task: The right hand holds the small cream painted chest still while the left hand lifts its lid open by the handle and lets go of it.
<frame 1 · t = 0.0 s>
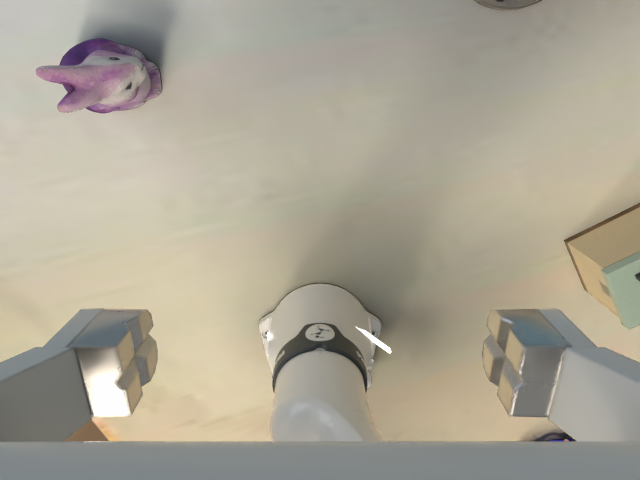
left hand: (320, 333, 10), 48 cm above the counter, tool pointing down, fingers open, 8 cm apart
figurine: (126, 74, 53), on the counter
chest: (626, 240, 61), on the counter
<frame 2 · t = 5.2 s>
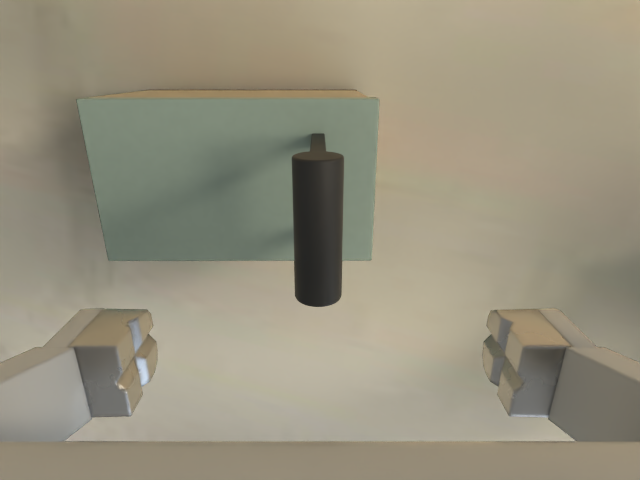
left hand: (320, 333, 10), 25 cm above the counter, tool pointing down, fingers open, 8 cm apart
chest: (256, 152, 33), on the counter
lid: (221, 203, 21), point 14 cm above the counter, hinge at 0.0°
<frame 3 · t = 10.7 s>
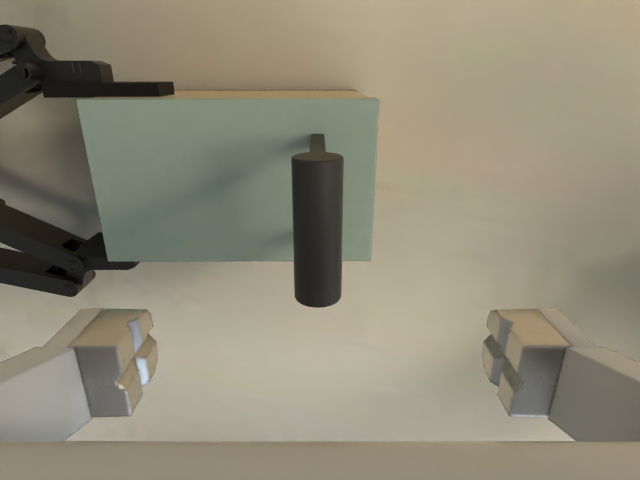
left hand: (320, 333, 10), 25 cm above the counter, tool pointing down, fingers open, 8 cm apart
right hand: (176, 171, 27), fingers closed on chest, 9 cm apart
chest: (255, 152, 33), on the counter, touching right hand
lid: (220, 204, 21), point 14 cm above the counter, hinge at 0.0°
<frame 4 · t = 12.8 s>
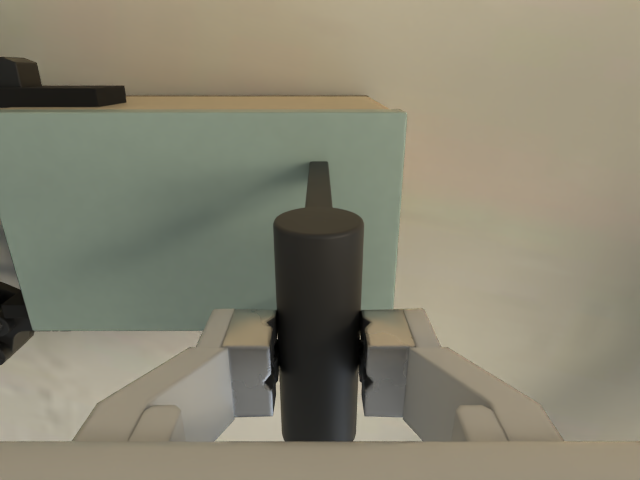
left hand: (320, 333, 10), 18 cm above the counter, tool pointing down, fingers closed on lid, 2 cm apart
chest: (241, 173, 27), on the counter, touching right hand
lid: (174, 269, 14), point 14 cm above the counter, hinge at 0.0°, touching left hand
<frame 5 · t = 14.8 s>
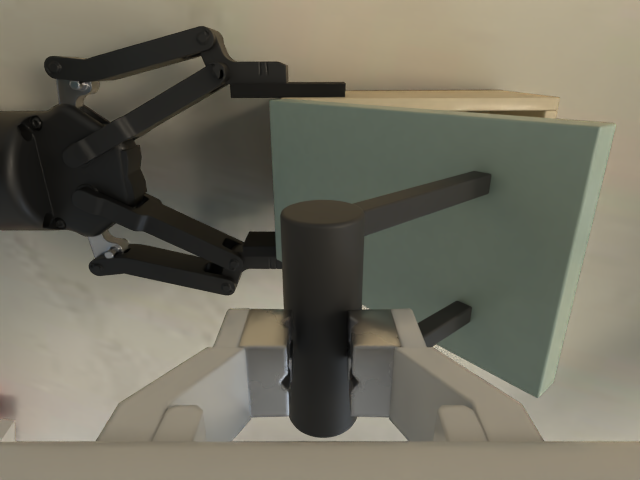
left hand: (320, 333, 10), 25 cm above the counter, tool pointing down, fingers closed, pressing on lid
right hand: (342, 171, 27), fingers closed on chest, 9 cm apart
chest: (391, 152, 34), on the counter, touching right hand
lid: (315, 237, 17), point 18 cm above the counter, hinge at 48.5°, touching left hand
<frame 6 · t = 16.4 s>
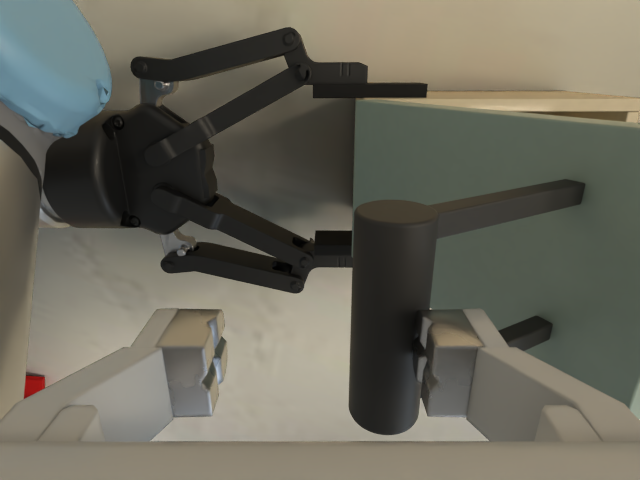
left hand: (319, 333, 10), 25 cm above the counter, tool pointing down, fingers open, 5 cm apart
right hand: (415, 171, 28), fingers closed on chest, 9 cm apart
chest: (451, 152, 34), on the counter, touching right hand
lid: (390, 237, 17), point 19 cm above the counter, hinge at 59.2°, touching left hand
when the right hand's fingers open (7 cm above the counter, at t = 20.0 s): chest stays where it is, on the counter.
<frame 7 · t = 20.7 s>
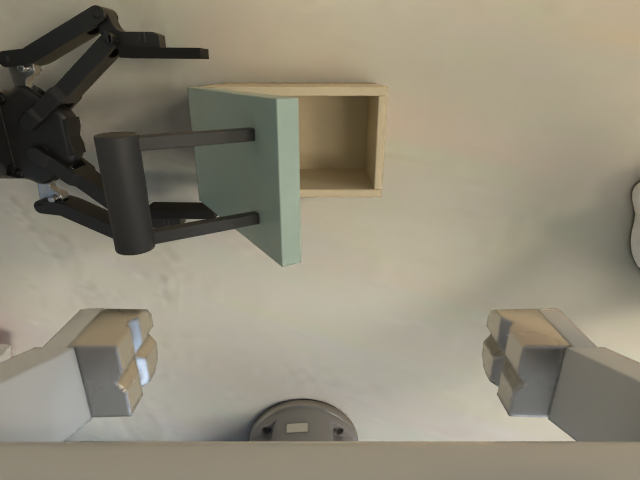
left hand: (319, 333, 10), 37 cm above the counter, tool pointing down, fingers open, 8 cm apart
right hand: (212, 137, 38), fingers open, 13 cm apart
chest: (298, 130, 45), on the counter
lid: (176, 169, 27), point 19 cm above the counter, hinge at 58.4°
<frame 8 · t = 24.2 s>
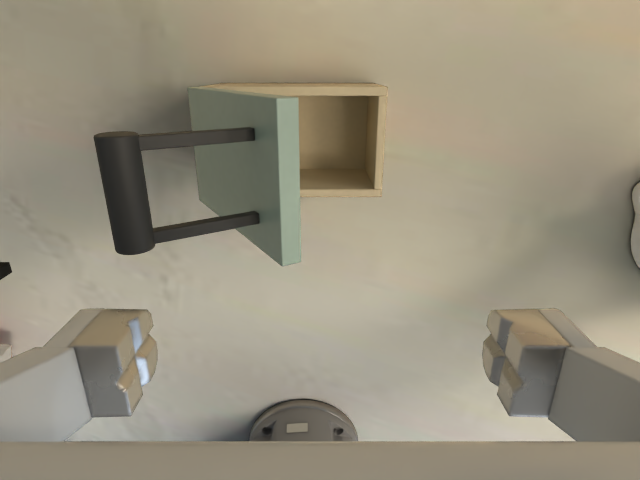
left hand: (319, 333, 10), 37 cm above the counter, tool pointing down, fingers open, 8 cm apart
chest: (298, 130, 45), on the counter
lid: (176, 168, 27), point 19 cm above the counter, hinge at 58.4°
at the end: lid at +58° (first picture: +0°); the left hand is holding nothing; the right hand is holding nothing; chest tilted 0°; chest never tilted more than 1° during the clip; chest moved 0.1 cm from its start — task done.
